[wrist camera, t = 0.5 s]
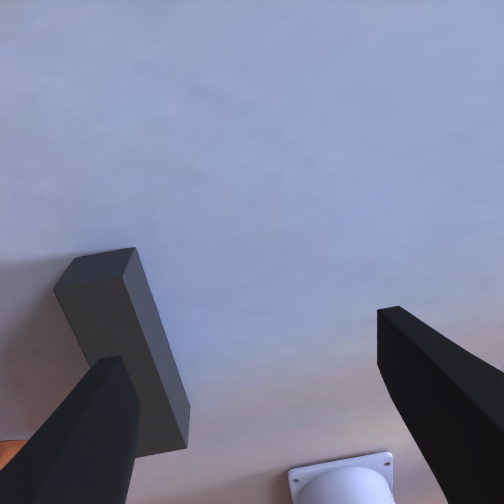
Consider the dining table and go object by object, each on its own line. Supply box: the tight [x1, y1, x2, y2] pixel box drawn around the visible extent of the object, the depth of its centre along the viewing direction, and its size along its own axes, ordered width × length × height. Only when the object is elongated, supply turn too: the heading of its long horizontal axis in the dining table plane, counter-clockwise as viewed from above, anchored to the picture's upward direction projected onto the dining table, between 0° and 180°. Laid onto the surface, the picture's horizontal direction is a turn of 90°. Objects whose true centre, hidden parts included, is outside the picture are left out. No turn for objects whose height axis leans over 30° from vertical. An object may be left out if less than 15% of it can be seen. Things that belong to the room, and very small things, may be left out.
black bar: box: [53, 247, 190, 458], centre depth 21 cm, size 12×3×3 cm, turn 9°
